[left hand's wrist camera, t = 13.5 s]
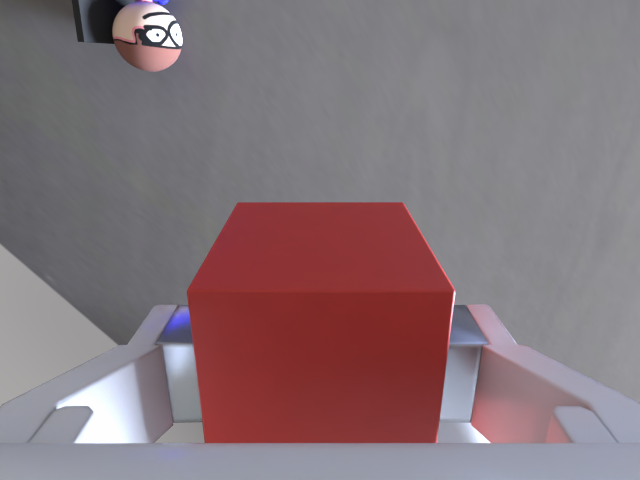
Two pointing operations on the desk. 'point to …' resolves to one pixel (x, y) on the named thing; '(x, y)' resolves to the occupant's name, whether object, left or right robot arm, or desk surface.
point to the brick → (320, 326)
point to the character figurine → (131, 30)
